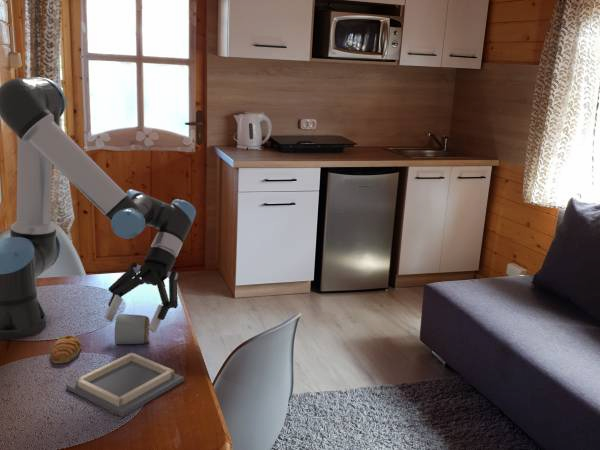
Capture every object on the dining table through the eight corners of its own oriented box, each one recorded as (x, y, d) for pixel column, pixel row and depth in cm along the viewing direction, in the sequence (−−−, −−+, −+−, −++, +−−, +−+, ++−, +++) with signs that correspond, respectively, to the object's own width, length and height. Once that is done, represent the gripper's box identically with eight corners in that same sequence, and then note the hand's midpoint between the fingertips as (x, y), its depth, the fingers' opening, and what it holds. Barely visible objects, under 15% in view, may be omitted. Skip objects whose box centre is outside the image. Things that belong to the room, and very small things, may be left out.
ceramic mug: (147, 348, 152) (147, 320, 150) (114, 349, 151) (113, 321, 149) (151, 331, 162) (150, 304, 160) (119, 331, 161) (119, 304, 159)
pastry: (74, 365, 143) (73, 351, 142) (44, 366, 142) (43, 351, 141) (83, 347, 151) (82, 333, 150) (55, 348, 151) (54, 334, 150)
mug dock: (66, 388, 132) (65, 378, 132) (129, 357, 147) (129, 348, 146) (122, 416, 123) (121, 406, 122) (183, 380, 138) (183, 371, 137)
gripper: (208, 266, 160) (177, 340, 151) (131, 252, 169) (97, 320, 160) (197, 253, 154) (164, 329, 145) (119, 238, 163) (82, 309, 154)
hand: (129, 325), depth 152 cm, fingers open, 13 cm apart
